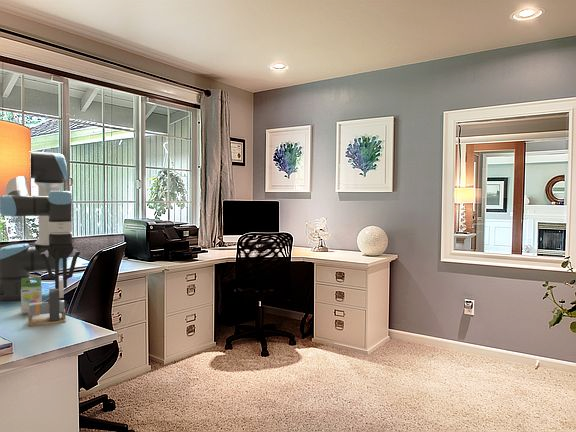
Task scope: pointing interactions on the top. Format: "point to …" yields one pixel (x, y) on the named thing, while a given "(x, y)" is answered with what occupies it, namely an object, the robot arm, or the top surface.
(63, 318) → the board
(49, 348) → the top surface
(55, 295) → the grey upright block
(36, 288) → the ink box
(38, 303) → the pipe
